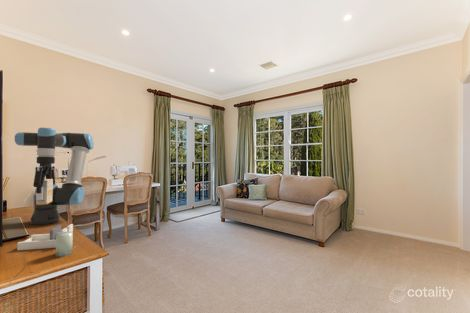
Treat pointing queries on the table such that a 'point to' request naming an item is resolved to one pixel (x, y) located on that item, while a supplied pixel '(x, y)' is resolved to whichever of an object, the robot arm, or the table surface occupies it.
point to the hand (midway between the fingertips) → (44, 198)
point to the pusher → (55, 232)
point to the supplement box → (46, 192)
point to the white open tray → (41, 241)
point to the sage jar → (64, 243)
